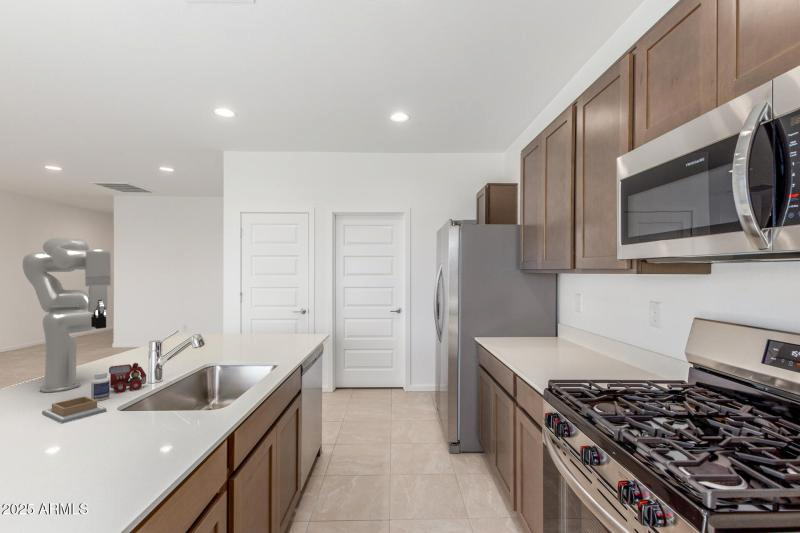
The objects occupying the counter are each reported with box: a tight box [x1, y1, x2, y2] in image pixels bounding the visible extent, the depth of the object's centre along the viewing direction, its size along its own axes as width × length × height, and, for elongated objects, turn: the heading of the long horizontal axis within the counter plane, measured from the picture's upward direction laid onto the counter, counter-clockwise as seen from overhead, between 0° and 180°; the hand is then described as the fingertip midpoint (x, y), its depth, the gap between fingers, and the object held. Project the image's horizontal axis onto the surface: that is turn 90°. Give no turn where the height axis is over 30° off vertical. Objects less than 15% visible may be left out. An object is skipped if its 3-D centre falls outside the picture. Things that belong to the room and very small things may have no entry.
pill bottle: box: [90, 371, 111, 402], centre depth 143 cm, size 5×5×10 cm
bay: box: [41, 395, 107, 424], centre depth 129 cm, size 16×12×4 cm
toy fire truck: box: [108, 362, 147, 394], centre depth 155 cm, size 7×12×10 cm, turn 129°
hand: (98, 327), depth 144 cm, fingers open, 9 cm apart
